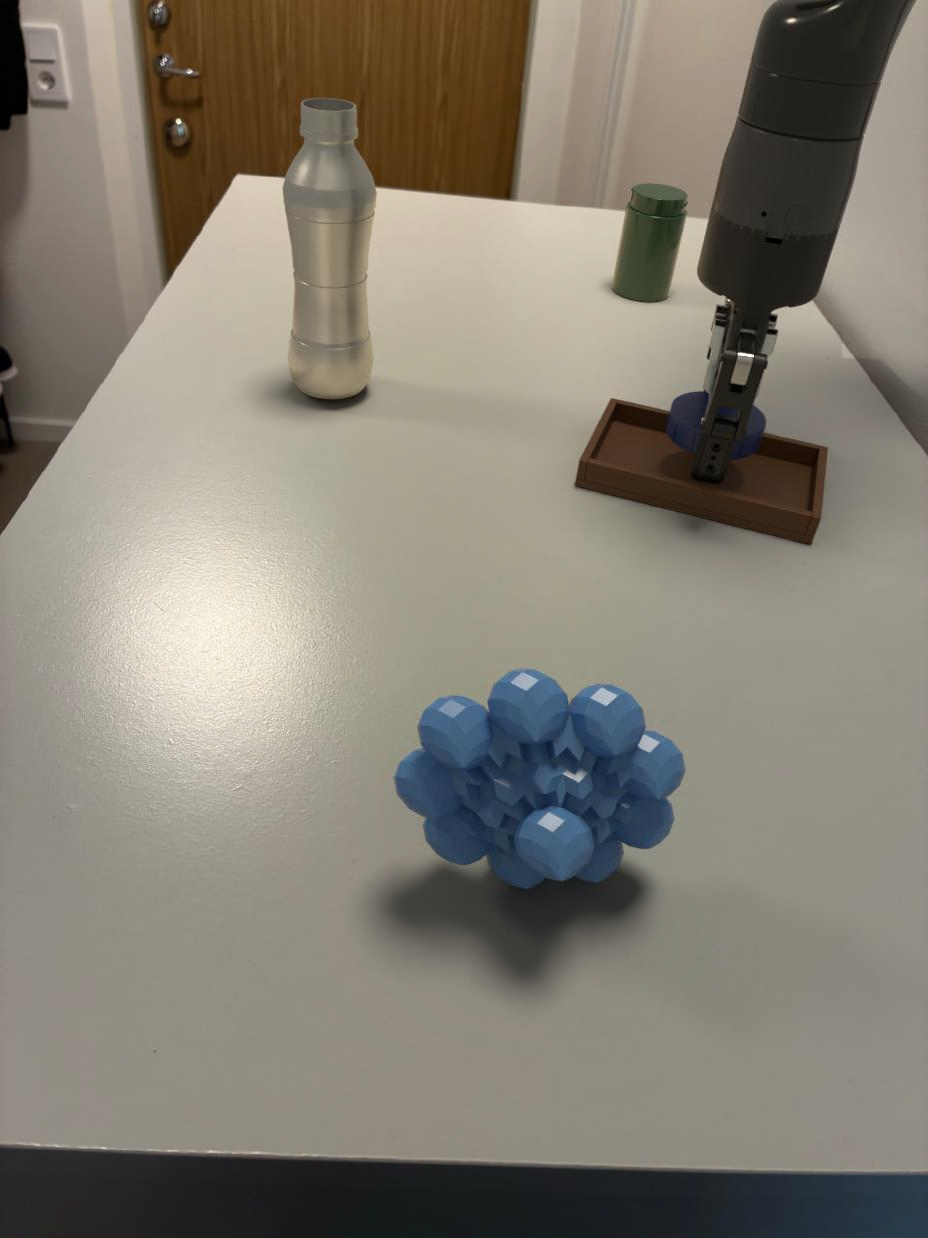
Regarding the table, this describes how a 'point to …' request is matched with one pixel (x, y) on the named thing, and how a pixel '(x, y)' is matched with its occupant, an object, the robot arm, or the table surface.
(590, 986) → the table surface
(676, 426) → the jar lid
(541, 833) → the blue ball cluster
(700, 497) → the serving tray
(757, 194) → the robot arm
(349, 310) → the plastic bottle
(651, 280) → the jam jar
